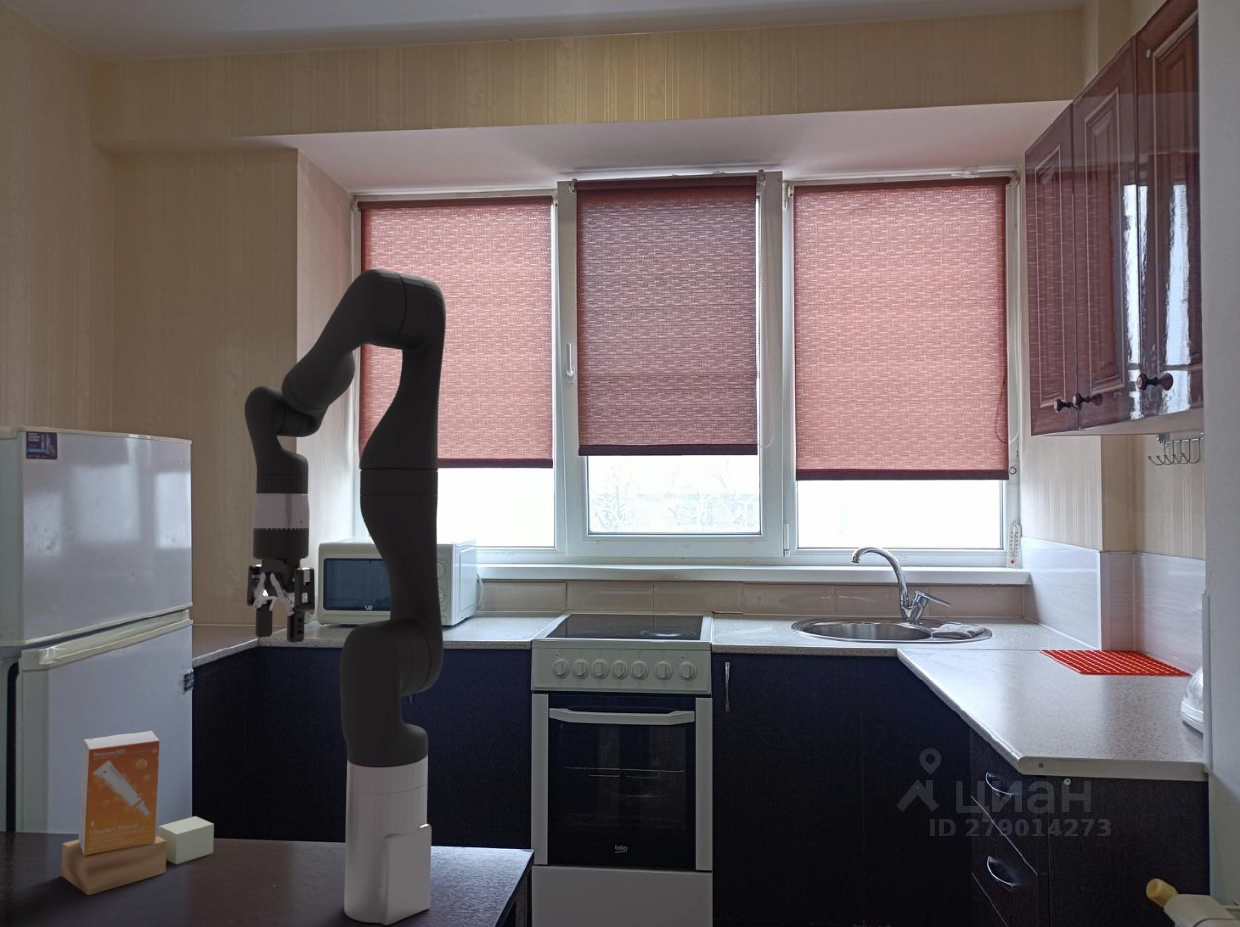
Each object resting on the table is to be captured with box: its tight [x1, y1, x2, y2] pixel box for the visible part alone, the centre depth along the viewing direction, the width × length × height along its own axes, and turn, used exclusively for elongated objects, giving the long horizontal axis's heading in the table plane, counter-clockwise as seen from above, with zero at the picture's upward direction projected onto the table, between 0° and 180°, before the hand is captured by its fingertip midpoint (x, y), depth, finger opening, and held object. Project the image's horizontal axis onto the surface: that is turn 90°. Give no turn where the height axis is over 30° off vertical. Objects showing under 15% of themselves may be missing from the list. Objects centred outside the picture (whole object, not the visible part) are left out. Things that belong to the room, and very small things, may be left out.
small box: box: [78, 730, 161, 856], centre depth 114 cm, size 8×6×13 cm
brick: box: [158, 815, 215, 865], centre depth 121 cm, size 5×5×4 cm
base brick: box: [60, 834, 167, 896], centre depth 114 cm, size 9×9×4 cm
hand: (279, 639), depth 128 cm, fingers open, 8 cm apart
